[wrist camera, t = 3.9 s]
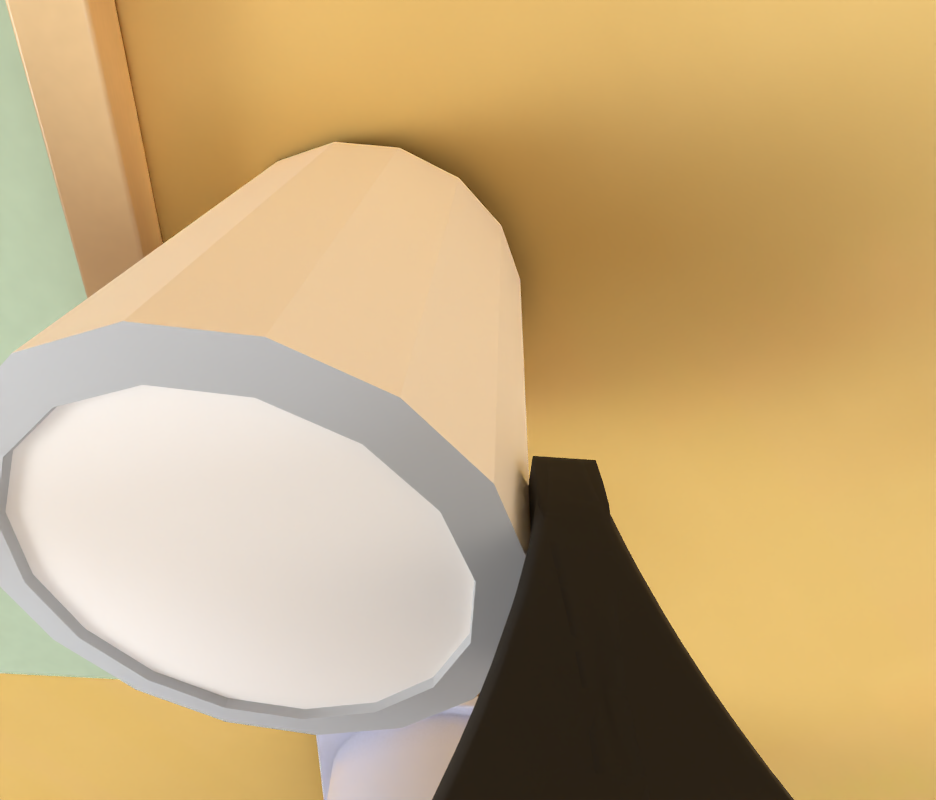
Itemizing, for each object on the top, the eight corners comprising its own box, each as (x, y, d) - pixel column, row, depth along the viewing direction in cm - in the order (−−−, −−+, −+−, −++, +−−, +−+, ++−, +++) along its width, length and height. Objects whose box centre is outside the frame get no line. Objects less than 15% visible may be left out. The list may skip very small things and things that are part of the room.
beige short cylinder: (116, 219, 14) (-184, 473, 9) (425, 17, 12) (274, 198, 6) (336, 472, 17) (218, 775, 12) (617, 360, 15) (635, 686, 9)
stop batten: (216, 506, 18) (203, 537, 18) (165, 503, 18) (151, 534, 18) (99, -89, 11) (68, -82, 10) (14, -95, 11) (-22, -88, 10)
